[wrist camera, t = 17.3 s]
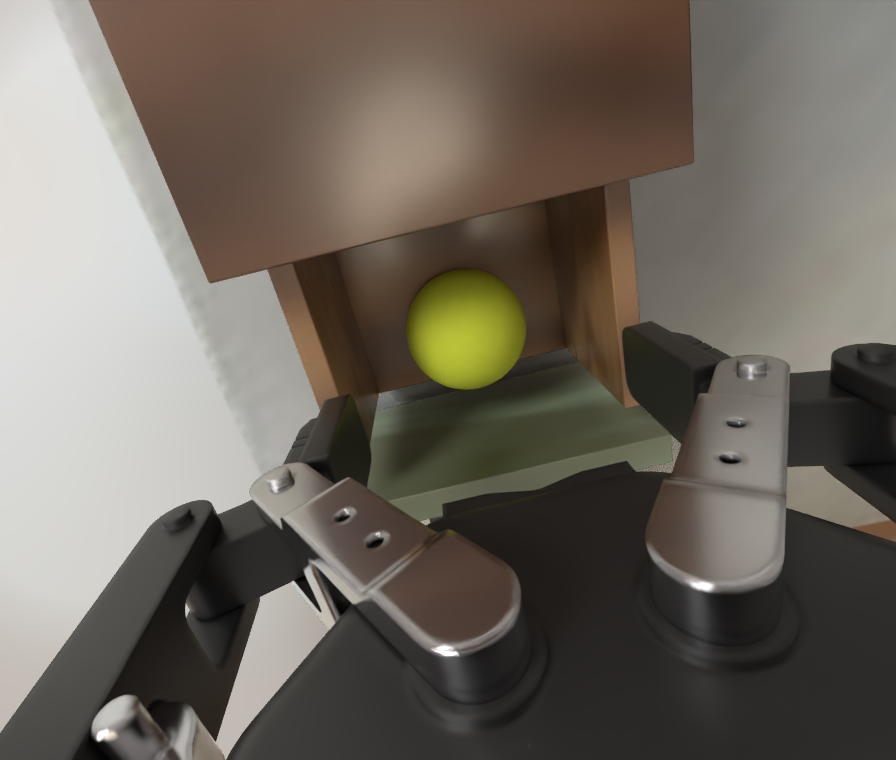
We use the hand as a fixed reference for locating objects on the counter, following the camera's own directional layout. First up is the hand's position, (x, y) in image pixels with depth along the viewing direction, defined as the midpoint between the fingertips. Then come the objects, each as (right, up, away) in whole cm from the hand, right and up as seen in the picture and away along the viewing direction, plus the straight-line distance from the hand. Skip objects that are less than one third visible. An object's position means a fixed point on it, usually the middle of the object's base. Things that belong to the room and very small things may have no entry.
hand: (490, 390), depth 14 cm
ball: (0, +2, +6) cm, 7 cm away
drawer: (-1, +3, +10) cm, 10 cm away
